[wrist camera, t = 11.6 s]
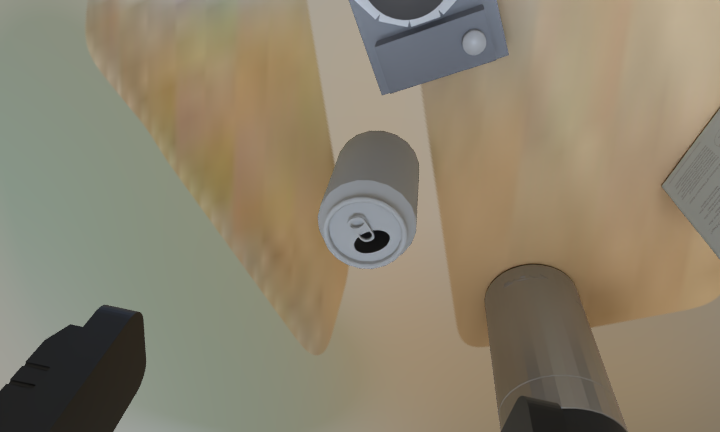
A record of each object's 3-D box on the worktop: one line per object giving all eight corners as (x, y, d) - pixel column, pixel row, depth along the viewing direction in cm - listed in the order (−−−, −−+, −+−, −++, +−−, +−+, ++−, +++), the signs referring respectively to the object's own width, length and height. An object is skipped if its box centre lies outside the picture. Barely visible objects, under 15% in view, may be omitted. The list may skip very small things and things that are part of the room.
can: (363, 211, 51) (346, 290, 41) (323, 148, 48) (293, 216, 38) (433, 181, 49) (433, 256, 38) (395, 112, 46) (384, 174, 35)
